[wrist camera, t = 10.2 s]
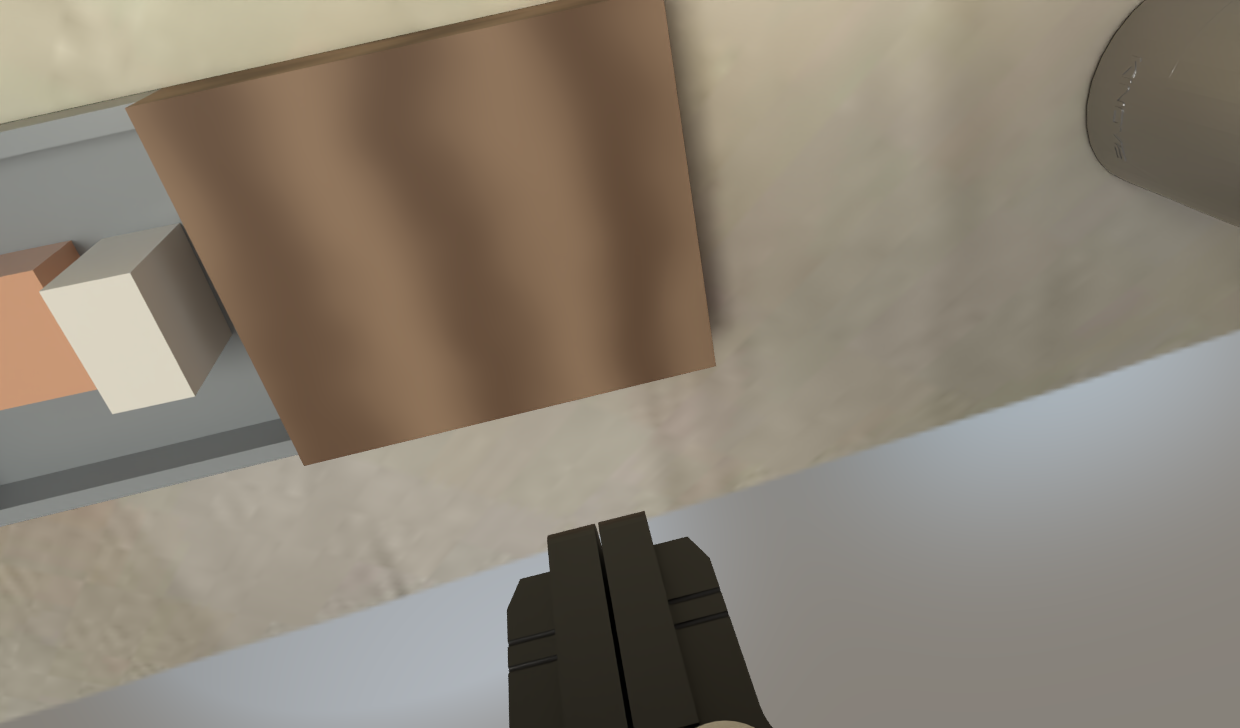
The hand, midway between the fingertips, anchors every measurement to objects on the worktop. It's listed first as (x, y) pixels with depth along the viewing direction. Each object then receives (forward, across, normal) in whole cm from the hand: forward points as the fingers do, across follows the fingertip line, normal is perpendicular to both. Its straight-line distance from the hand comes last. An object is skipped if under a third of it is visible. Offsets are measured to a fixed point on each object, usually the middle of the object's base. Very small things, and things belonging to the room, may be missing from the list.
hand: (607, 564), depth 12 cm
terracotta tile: (+19, +21, +1) cm, 28 cm away
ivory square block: (+20, +14, +2) cm, 24 cm away
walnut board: (+23, +4, +2) cm, 23 cm away
